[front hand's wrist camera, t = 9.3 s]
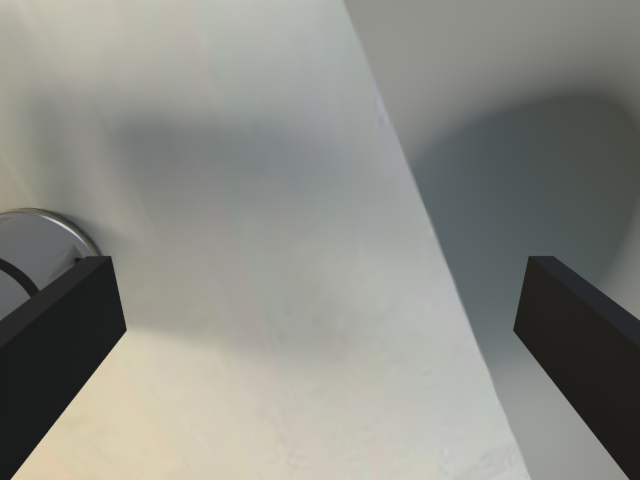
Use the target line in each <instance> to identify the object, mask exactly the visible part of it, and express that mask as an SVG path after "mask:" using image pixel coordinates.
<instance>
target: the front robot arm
mask: <svg viewBox="0 0 640 480" xmlns="http://www.w3.org/2000/svg"><path fill="white" fill-rule="evenodd" d="M126 331H127V329H126V324H125V320H124V315H123V310H122V305H121V301H120V296H119V291H118V286H117V282H116V277H115V272H114V267H113V263H112V258H111V256H101V255H100V253H99V251H98V249H97V248H96V246H95V245H94V243H93V242H92V241H91V240H90V238H89V237H88V236H87V235H86V234H85V233H84V232H83V231H82V230H80V229H79V228H78V227H77V226H75V225H74V224H73V223H71V222H70V221H68V220H66V219H64V218H62V217H60V216H58V215H56V214H53V213H50V212H47V211H43V210H39V209H31V208H20V209H13V210H9V211H6V212H3V213H1V214H0V480H11V478H12V477H13V476H14V474H15V473H16V472H17V471H18V469H19V468H20V467H21V465H22V464H23V463H24V462H25V460H26V459H27V458H28V457H29V455H30V454H31V453H32V451H33V450H34V449H35V448H36V446H37V445H38V444H39V442H40V441H41V440H42V439H43V437H44V436H45V435H46V433H47V432H48V431H49V430H50V428H51V427H52V426H53V424H54V423H55V422H56V421H57V419H58V418H59V417H60V415H61V414H62V413H63V412H64V410H65V409H66V408H67V406H68V405H69V404H70V403H71V401H72V400H73V399H74V397H75V396H76V395H77V394H78V392H79V391H80V390H81V388H82V387H83V386H84V385H85V383H86V382H87V381H88V379H89V378H90V377H91V376H92V374H93V373H94V372H95V371H96V369H97V368H98V367H99V365H100V364H101V363H102V362H103V360H104V359H105V358H106V356H107V355H108V354H109V353H110V351H111V350H112V349H113V347H114V346H115V345H116V344H117V342H118V341H119V340H120V338H121V337H122V336H123V335H124V333H125V332H126ZM513 331H514V332H515V333H516V335H517V336H518V337H519V338H520V340H521V341H522V342H523V343H524V345H525V346H526V347H527V349H528V350H529V351H530V353H531V354H532V355H533V356H534V358H535V359H536V360H537V362H538V363H539V364H540V365H541V367H542V368H543V369H544V371H545V372H546V373H547V374H548V376H549V377H550V378H551V379H552V381H553V382H554V383H555V385H556V386H557V387H558V388H559V390H560V391H561V392H562V394H563V395H564V396H565V397H566V399H567V400H568V401H569V403H570V404H571V405H572V406H573V408H574V409H575V410H576V412H577V413H578V414H579V415H580V417H581V418H582V419H583V421H584V422H585V423H586V424H587V426H588V427H589V428H590V430H591V431H592V432H593V433H594V435H595V436H596V437H597V439H598V440H599V441H600V442H601V444H602V445H603V446H604V448H605V449H606V450H607V451H608V453H609V454H610V455H611V457H612V458H613V459H614V460H615V462H616V463H617V464H618V465H619V467H620V468H621V469H622V471H623V472H624V473H625V474H626V476H627V477H628V478H629V480H640V320H638V319H637V318H636V317H634V316H633V315H632V314H630V313H629V312H628V311H626V310H625V309H624V308H622V307H621V306H620V305H618V304H617V303H616V302H614V301H613V300H611V299H610V298H609V297H607V296H606V295H605V294H603V293H602V292H601V291H599V290H598V289H597V288H595V287H594V286H593V285H591V284H590V283H589V282H587V281H586V280H585V279H583V278H582V277H581V276H579V275H578V274H577V273H575V272H574V271H573V270H571V269H570V268H569V267H567V266H566V265H565V264H563V263H562V262H561V261H559V260H558V259H556V258H555V257H554V256H529V258H528V263H527V268H526V272H525V277H524V282H523V286H522V291H521V296H520V301H519V306H518V310H517V315H516V320H515V324H514V329H513Z"/></svg>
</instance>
